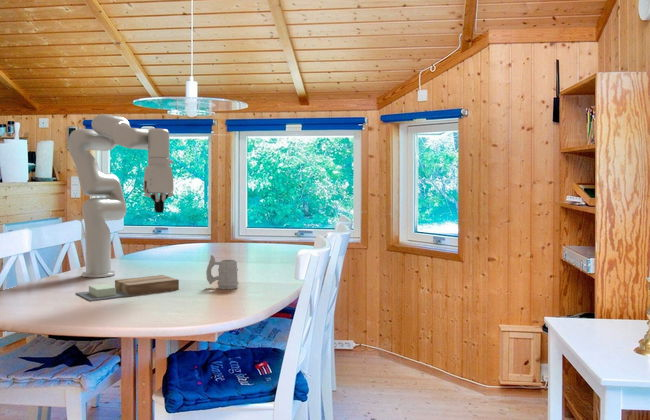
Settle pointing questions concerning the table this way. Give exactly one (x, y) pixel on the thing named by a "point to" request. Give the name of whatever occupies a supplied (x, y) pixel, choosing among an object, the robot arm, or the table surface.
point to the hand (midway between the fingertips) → (159, 212)
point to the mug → (223, 273)
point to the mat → (94, 298)
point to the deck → (147, 284)
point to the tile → (102, 290)
